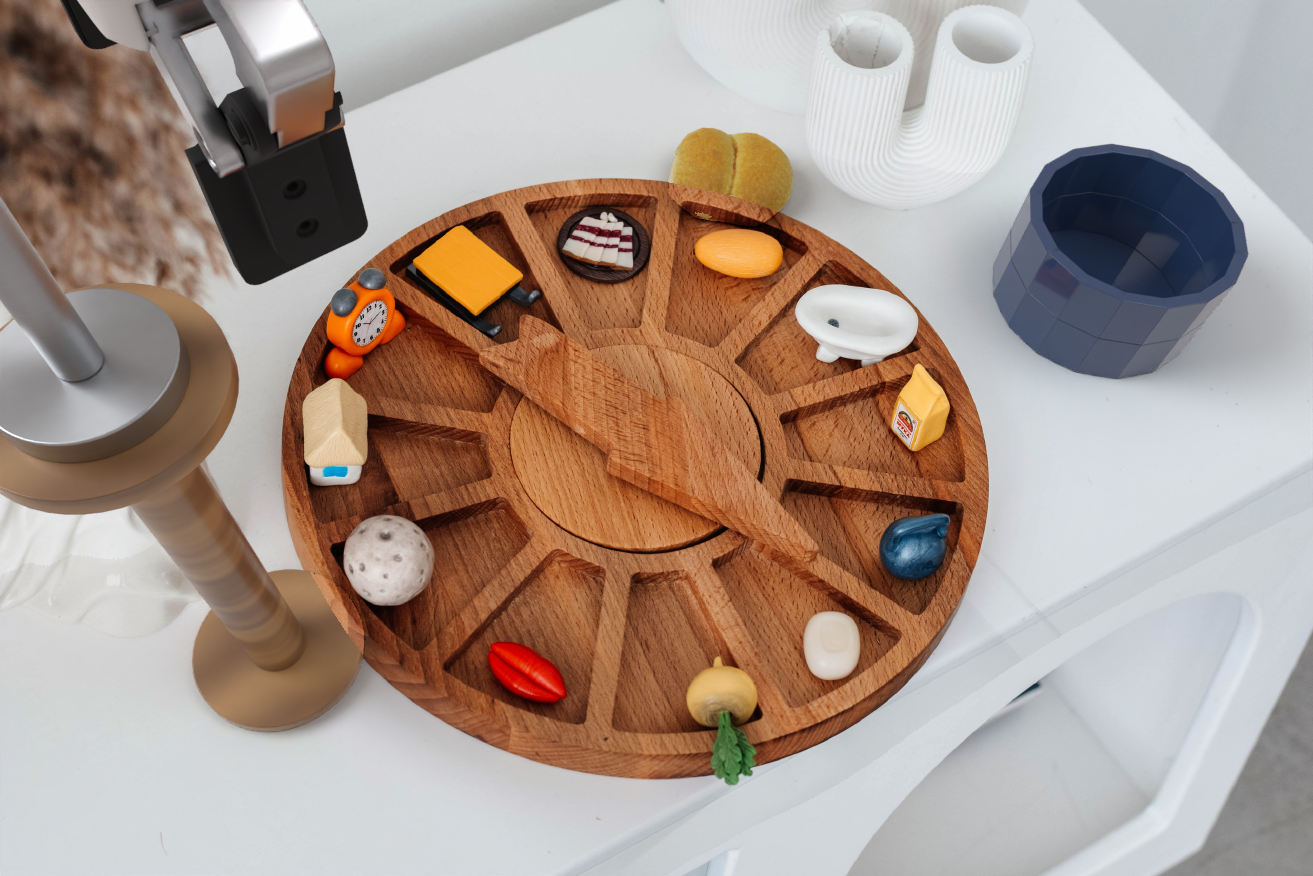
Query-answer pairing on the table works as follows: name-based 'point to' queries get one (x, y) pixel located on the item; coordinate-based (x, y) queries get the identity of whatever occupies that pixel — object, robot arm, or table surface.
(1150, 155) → the pot
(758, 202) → the bread roll
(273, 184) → the robot arm
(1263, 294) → the table surface
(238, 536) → the cake stand
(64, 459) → the masher
